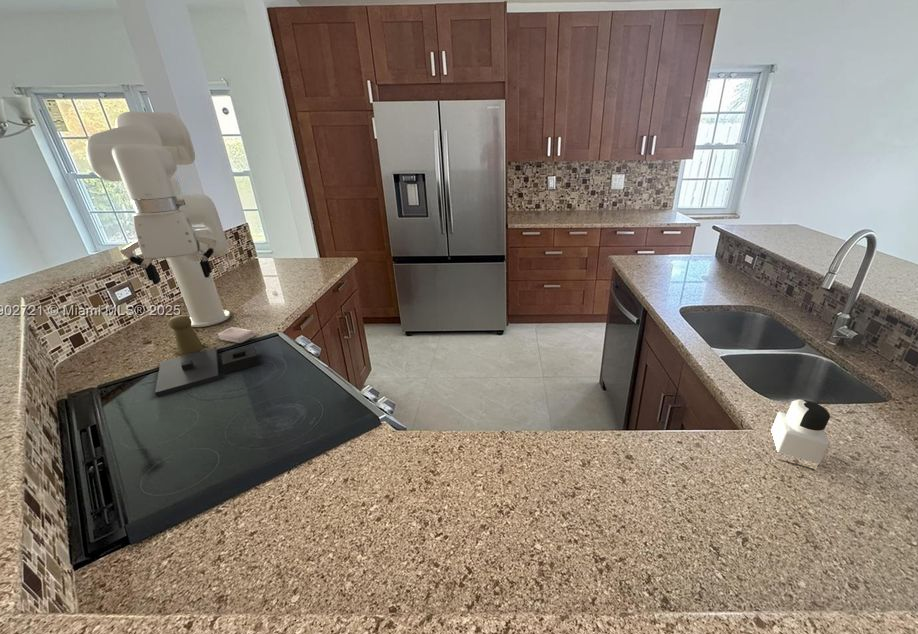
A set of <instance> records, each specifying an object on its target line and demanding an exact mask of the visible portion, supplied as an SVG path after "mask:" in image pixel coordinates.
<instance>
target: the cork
mask: <svg viewBox="0 0 918 634" xmlns="http://www.w3.org/2000/svg"><path fill="white" fill-rule="evenodd" d="M191 324H192V321H191V318H190V315H189V316H188V315H186V314H180V315H176V316H175V315H174V316H173V317H171V318H170V319H168V326H169V327H170V329H172V330H173V334H174V338H175V342H176V347H177V352H178V354H179V355H188V354H192V353H196V352H200V351H202V349H203V348H204V345H203V343H202V342H201V340H200V338H199V337H198V335H197V333H196V331H195V330H194V327H192V326H191Z"/></svg>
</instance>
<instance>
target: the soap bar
mask: <svg viewBox="0 0 918 634" xmlns="http://www.w3.org/2000/svg"><path fill="white" fill-rule="evenodd" d="M217 335H218V338H219V340H222V341H226V342H232V343H236V344H242V343H245V342H246V341H248V340H250V339H253V338H254V337H255V334H254V330H251V329H245V328H240V327H235V326H230V327H228V328H227V329H225V330H222V331H220V332H218V334H217Z"/></svg>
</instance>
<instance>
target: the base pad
mask: <svg viewBox="0 0 918 634" xmlns="http://www.w3.org/2000/svg"><path fill="white" fill-rule="evenodd" d="M220 379H221V377H220V366H219V353H218V349H217V347H213V348H210V349H209V348H208V349H205V350H200V351H197V352H194V353H190V354H183V355H181V356H177V357H172V358H167V359H163V360H160V362H159V368H158V373H157V379H156V385H155V391H154V394H155V396H156V397H159V396H163V395H167V394H171V393H174V392H178V391H181V390H185V389H188V388H193V387H195V386H199V385H203V384H206V383H210V382H213V381H217V380H220Z"/></svg>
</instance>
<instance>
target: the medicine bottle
mask: <svg viewBox="0 0 918 634" xmlns="http://www.w3.org/2000/svg"><path fill="white" fill-rule="evenodd" d="M830 418H831V413H830V412H829V411H828V410H827V408H825V407H824V406H822V404H818V403H817V402H814V401H811V400H807V399H795V400H793V401H791V403H790V406H789V408H788V410H787V412H783V411H778V412H777V415H776V416H775V419H774V421H773V424H772V426H771V428H770V431H771V433H772V436H773V440H774V443H775V446H776V450H777V452H779V453H783V454H786V455H790V456H794V457H798V458H802V459H805V460H809V461H812V462H816V463H819V464H820V465H821V463H822V462H823V459H824V457H825V455H826V453H827V451H828V449H829V448H830V445H831V443H830V440H829V438H828V437H827V435H826V432H825V429H826V428H827V425H828V423H829V421H830Z"/></svg>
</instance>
